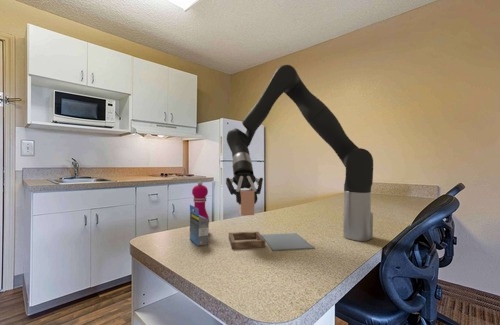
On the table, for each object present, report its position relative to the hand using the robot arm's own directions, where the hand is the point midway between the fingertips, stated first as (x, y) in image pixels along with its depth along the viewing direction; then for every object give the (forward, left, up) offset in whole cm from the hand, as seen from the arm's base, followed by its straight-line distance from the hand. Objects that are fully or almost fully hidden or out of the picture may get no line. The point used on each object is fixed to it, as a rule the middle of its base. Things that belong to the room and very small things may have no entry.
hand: (247, 202), depth 83 cm
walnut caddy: (0, -1, -14) cm, 14 cm away
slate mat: (-14, 0, -14) cm, 20 cm away
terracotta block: (0, -1, -4) cm, 4 cm away
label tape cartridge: (+16, -4, -14) cm, 22 cm away
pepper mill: (+16, -15, -14) cm, 26 cm away
